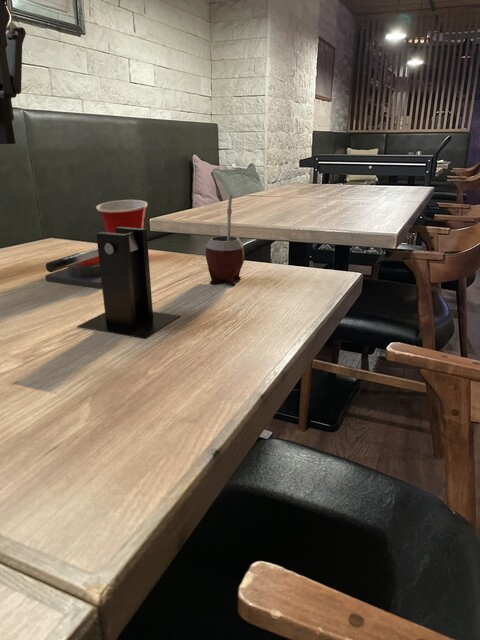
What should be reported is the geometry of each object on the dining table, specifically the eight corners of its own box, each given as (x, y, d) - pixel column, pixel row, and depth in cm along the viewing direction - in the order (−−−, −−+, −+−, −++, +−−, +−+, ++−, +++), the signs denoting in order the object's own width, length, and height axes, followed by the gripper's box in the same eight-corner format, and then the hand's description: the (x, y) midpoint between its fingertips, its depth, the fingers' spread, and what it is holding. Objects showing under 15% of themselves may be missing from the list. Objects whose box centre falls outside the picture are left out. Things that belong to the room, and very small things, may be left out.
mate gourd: (217, 289, 87) (215, 202, 81) (198, 278, 93) (195, 197, 88) (253, 282, 90) (253, 199, 85) (232, 273, 97) (231, 194, 91)
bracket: (78, 334, 67) (64, 234, 63) (118, 313, 75) (109, 222, 70) (145, 346, 63) (136, 240, 58) (180, 323, 71) (175, 227, 66)
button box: (46, 287, 88) (43, 265, 87) (84, 273, 97) (81, 253, 96) (100, 295, 84) (98, 272, 83) (135, 279, 93) (133, 259, 91)
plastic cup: (91, 262, 106) (85, 205, 101) (117, 251, 115) (112, 199, 111) (136, 265, 103) (132, 207, 98) (159, 254, 112) (156, 200, 108)
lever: (49, 276, 68) (42, 260, 68) (78, 266, 73) (72, 251, 73) (120, 255, 62) (113, 237, 62) (147, 246, 67) (141, 229, 67)
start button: (71, 266, 88) (70, 256, 88) (88, 260, 92) (87, 251, 91) (91, 268, 87) (90, 258, 86) (107, 262, 90) (106, 253, 90)
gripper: (-49, -57, 61) (-13, 144, 69) (31, -28, 72) (54, 143, 81) (-89, -48, 64) (-50, 144, 72) (-6, -21, 75) (20, 143, 83)
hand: (5, 143), depth 76 cm, fingers closed
